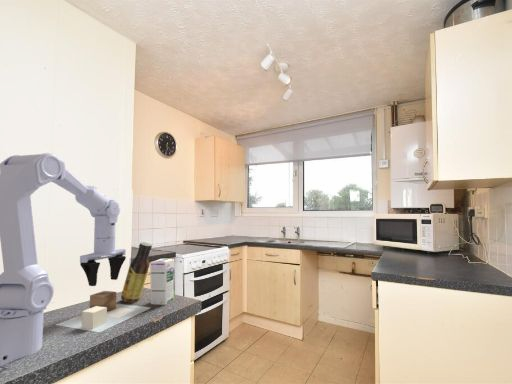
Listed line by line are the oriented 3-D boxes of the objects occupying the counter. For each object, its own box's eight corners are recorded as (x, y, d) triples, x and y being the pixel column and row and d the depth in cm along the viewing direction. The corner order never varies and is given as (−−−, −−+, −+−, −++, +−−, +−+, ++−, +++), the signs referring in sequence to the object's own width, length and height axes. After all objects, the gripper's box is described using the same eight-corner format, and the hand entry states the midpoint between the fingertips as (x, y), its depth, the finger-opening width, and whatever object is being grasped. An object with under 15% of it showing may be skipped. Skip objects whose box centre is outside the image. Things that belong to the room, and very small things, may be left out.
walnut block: (102, 314, 78) (102, 296, 78) (89, 312, 80) (90, 295, 80) (116, 308, 83) (116, 291, 83) (104, 306, 84) (104, 290, 85)
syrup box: (166, 307, 85) (166, 261, 86) (149, 306, 86) (150, 261, 87) (175, 301, 90) (175, 258, 91) (159, 300, 91) (159, 258, 93)
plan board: (99, 335, 65) (99, 332, 65) (55, 327, 71) (55, 324, 71) (151, 310, 82) (151, 307, 82) (112, 305, 88) (112, 303, 88)
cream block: (92, 328, 68) (93, 312, 68) (81, 327, 69) (82, 311, 69) (106, 322, 71) (106, 307, 72) (95, 321, 73) (96, 306, 73)
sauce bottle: (121, 295, 92) (137, 239, 94) (140, 297, 94) (156, 243, 95) (118, 303, 86) (135, 243, 87) (138, 305, 88) (154, 247, 89)
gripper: (92, 240, 75) (91, 289, 74) (132, 236, 88) (132, 277, 87) (75, 240, 77) (73, 288, 76) (116, 236, 91) (115, 276, 90)
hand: (103, 282), depth 82 cm, fingers open, 7 cm apart
